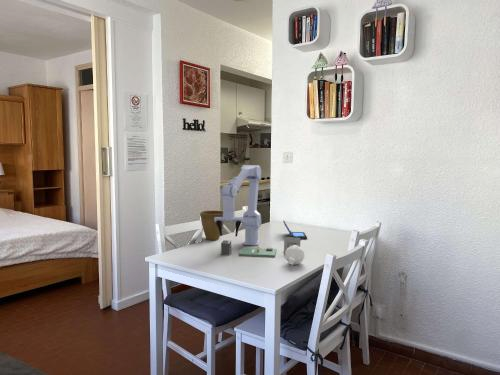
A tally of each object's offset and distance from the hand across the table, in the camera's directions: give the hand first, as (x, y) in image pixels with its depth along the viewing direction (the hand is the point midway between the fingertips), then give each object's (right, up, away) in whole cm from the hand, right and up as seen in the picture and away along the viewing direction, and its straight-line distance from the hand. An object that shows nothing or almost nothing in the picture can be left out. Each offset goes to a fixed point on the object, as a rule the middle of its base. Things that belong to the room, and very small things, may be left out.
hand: (228, 235), depth 193 cm
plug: (-1, -9, +2) cm, 10 cm away
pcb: (+15, -9, +3) cm, 18 cm away
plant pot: (-11, -6, +34) cm, 36 cm away
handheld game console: (+38, -6, +41) cm, 56 cm away
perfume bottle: (+30, -12, -16) cm, 36 cm away
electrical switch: (+32, -10, +4) cm, 34 cm away
